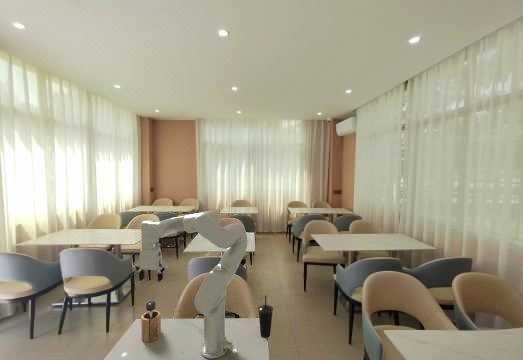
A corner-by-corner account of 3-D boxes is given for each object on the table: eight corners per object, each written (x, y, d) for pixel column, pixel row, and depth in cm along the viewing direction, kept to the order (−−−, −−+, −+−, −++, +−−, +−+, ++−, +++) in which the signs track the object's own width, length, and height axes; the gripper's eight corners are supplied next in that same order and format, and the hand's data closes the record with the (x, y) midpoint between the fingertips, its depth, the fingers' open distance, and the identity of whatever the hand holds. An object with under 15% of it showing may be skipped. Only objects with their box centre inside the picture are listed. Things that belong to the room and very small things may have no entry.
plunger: (158, 331, 131) (158, 301, 131) (153, 337, 126) (152, 306, 126) (149, 330, 132) (149, 300, 132) (143, 336, 127) (143, 305, 127)
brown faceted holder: (165, 329, 135) (165, 309, 134) (154, 343, 125) (154, 320, 124) (150, 328, 136) (150, 307, 136) (138, 341, 126) (137, 319, 125)
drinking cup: (271, 340, 127) (271, 300, 126) (256, 338, 128) (256, 298, 127) (274, 331, 134) (274, 293, 133) (259, 329, 136) (259, 291, 135)
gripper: (170, 244, 130) (171, 277, 131) (138, 243, 132) (139, 276, 133) (162, 248, 122) (163, 284, 123) (129, 247, 125) (130, 282, 126)
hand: (151, 280), depth 128 cm, fingers open, 9 cm apart
